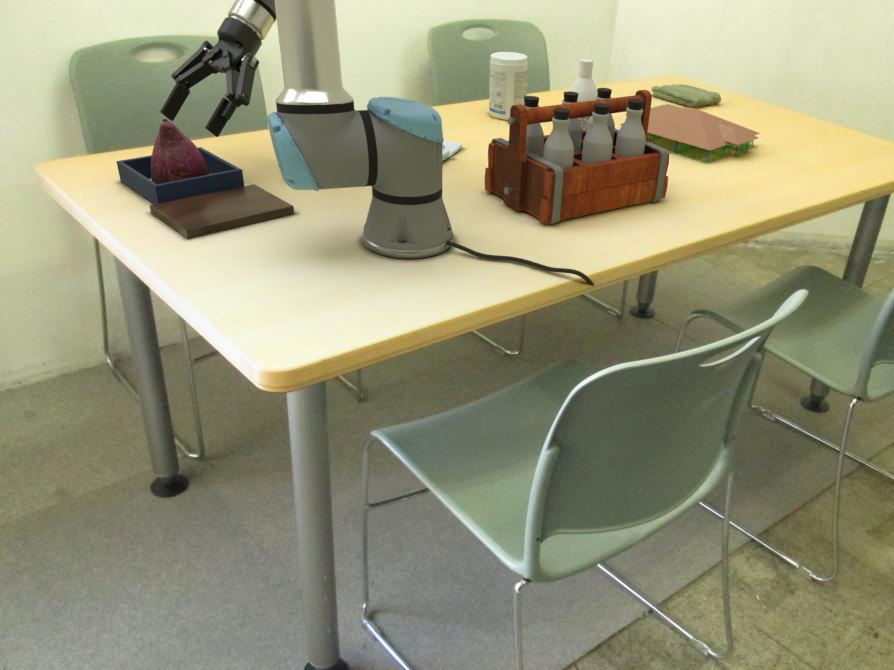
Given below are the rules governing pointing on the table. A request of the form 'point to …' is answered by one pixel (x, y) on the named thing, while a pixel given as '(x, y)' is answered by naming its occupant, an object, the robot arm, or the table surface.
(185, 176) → the vegetable
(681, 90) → the washcloth
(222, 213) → the cutting board
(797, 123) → the table surface
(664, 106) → the house
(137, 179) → the square frame
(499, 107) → the supplement tub
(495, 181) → the milk bottle holder
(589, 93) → the bath foam
